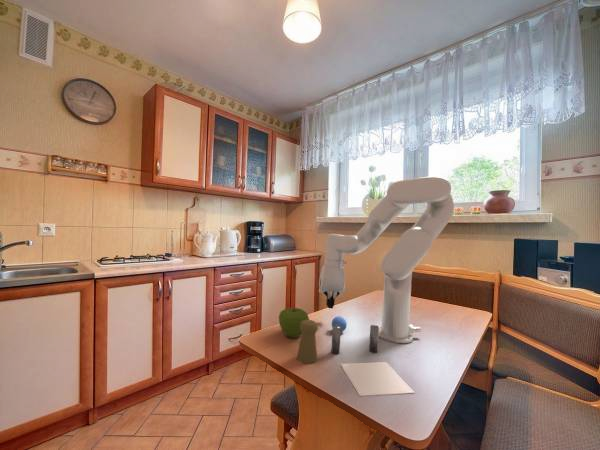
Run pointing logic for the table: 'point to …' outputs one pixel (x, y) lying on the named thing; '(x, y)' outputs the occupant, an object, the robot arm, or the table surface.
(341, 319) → the ball
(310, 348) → the olive pawn shape
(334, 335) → the post
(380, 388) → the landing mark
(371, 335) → the post
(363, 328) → the table surface
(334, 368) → the table surface
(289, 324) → the apple
